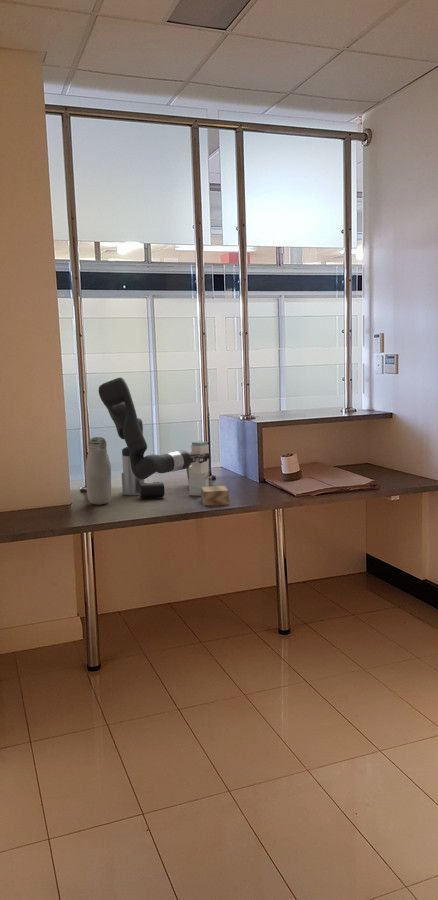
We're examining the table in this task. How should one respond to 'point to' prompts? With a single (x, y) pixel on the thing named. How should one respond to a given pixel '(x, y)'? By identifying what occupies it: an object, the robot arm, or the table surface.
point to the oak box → (215, 495)
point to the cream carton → (200, 448)
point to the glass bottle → (98, 472)
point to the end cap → (151, 490)
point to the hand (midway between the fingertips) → (204, 455)
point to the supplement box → (197, 482)
